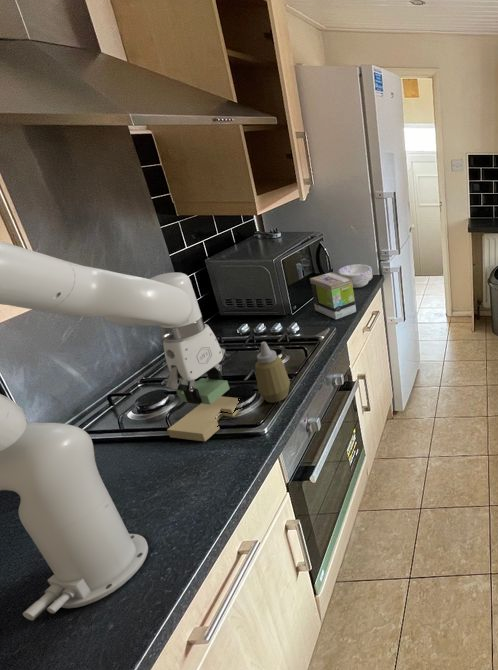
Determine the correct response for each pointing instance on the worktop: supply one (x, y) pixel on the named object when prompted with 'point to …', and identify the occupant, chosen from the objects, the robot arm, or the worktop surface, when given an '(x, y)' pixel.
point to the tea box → (333, 295)
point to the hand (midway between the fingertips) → (206, 393)
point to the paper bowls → (357, 274)
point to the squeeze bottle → (271, 375)
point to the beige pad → (203, 420)
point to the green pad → (208, 390)
